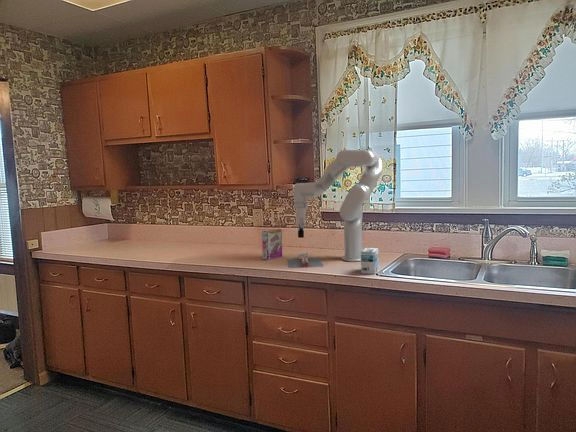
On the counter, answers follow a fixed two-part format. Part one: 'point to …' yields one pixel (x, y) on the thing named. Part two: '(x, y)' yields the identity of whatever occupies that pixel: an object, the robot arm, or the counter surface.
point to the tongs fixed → (306, 262)
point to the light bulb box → (369, 260)
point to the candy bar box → (271, 244)
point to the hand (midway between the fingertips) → (300, 237)
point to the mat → (298, 264)
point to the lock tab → (303, 254)
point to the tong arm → (303, 261)
